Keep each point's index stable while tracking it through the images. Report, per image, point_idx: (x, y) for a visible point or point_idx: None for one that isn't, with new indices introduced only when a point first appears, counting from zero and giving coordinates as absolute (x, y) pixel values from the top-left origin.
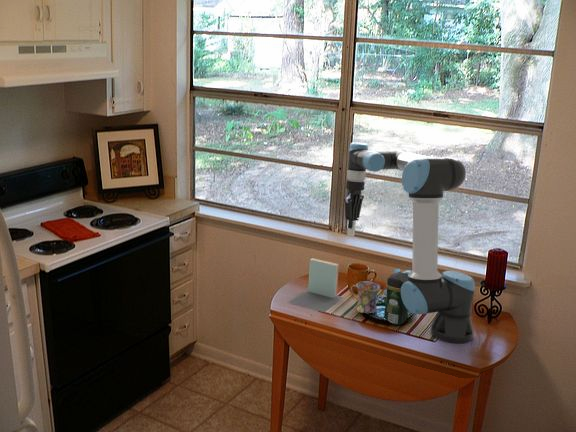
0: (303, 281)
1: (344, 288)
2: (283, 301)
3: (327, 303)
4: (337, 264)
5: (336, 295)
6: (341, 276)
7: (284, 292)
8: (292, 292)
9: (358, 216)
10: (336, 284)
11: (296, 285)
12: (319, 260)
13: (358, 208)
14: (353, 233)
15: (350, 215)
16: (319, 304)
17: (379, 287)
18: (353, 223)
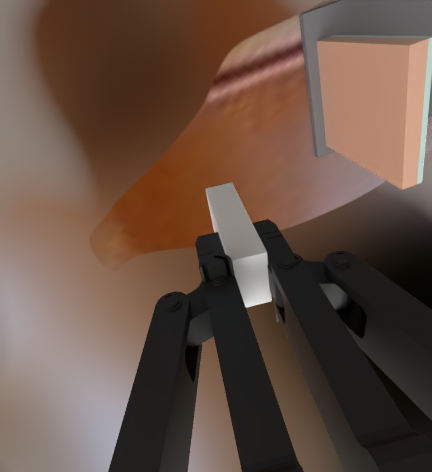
0: (271, 215)
1: (215, 94)
2: (427, 134)
3: (388, 14)
4: (417, 47)
5: (319, 40)
6: (138, 186)
7: (372, 181)
8: (359, 169)
9: (177, 304)
10: (353, 39)
11: (310, 202)
12: (412, 149)
13: (177, 410)
14: (227, 193)
15: (393, 285)
16: (410, 29)
17: None
18: (259, 241)
